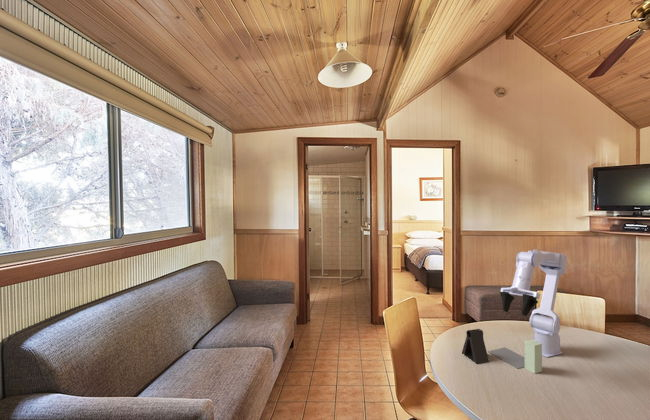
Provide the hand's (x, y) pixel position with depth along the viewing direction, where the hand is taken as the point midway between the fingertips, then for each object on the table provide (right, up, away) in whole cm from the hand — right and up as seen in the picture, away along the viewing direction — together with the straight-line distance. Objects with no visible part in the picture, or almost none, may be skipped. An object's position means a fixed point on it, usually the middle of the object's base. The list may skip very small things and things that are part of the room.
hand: (514, 313), depth 112 cm
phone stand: (-8, -24, +13) cm, 29 cm away
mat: (+7, -23, +13) cm, 27 cm away
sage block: (+10, -24, +4) cm, 26 cm away
